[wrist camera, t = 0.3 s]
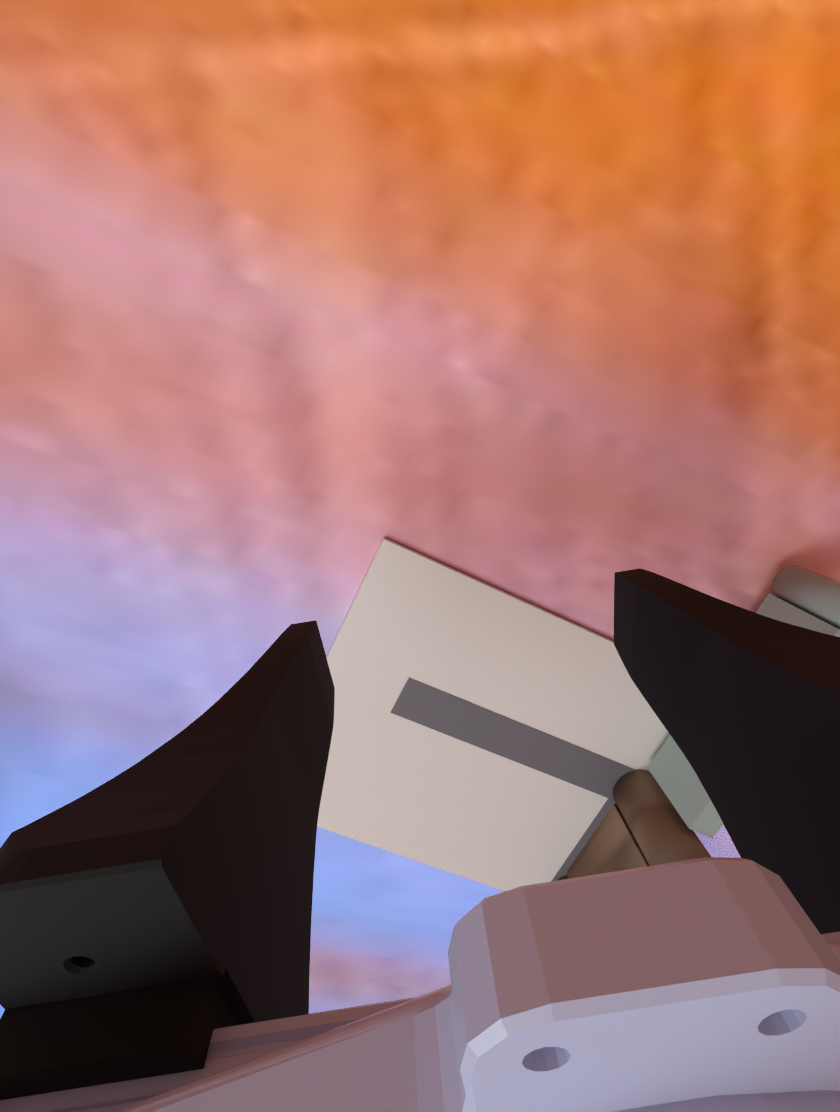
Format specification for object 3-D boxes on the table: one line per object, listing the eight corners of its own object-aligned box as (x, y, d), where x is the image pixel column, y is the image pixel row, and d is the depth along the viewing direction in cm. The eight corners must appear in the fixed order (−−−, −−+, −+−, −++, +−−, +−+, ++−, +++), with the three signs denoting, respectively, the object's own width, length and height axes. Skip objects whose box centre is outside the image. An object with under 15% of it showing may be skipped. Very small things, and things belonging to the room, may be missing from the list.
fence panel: (670, 777, 26) (721, 847, 22) (643, 766, 25) (690, 834, 21) (815, 574, 23) (905, 611, 19) (787, 560, 23) (871, 594, 19)
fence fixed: (579, 902, 28) (622, 1019, 23) (541, 889, 28) (575, 1004, 23) (667, 778, 26) (737, 875, 21) (628, 762, 26) (688, 857, 21)
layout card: (596, 918, 29) (599, 924, 29) (258, 801, 26) (256, 806, 26) (754, 704, 26) (759, 708, 25) (383, 537, 22) (383, 539, 22)
